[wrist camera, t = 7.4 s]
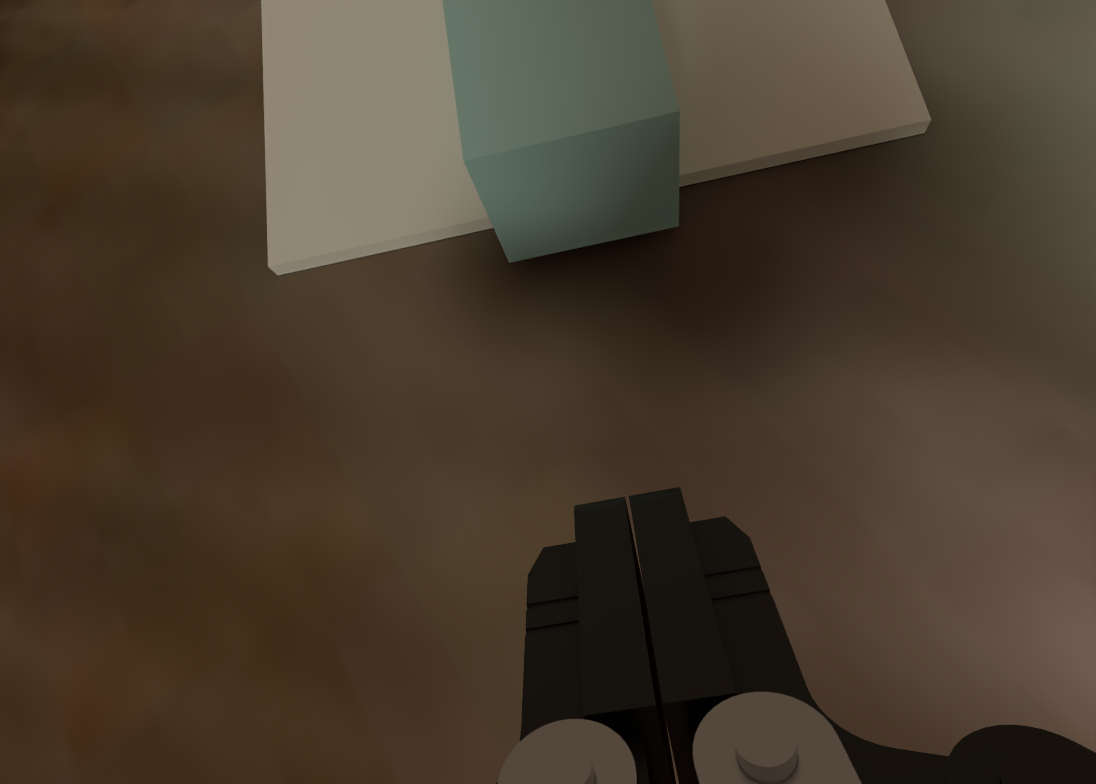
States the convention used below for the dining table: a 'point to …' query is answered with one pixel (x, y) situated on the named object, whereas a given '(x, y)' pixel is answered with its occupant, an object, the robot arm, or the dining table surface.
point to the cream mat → (433, 130)
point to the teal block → (565, 119)
